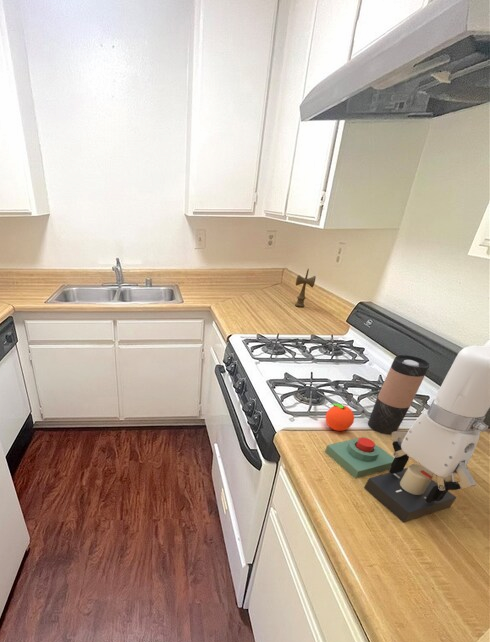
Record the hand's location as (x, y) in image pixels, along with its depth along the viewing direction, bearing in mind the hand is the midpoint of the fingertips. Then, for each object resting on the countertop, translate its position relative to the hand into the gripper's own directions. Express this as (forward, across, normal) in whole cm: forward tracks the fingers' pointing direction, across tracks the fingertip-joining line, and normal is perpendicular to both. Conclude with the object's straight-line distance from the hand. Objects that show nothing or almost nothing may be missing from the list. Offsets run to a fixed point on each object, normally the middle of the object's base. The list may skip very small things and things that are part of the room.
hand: (412, 485), depth 72 cm
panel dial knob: (+1, 0, 0) cm, 1 cm away
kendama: (+4, +131, -70) cm, 149 cm away
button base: (+4, +13, 0) cm, 14 cm away
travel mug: (+4, +22, -17) cm, 28 cm away
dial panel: (+4, 0, 0) cm, 4 cm away
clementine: (+4, +26, -4) cm, 27 cm away
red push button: (0, +13, 0) cm, 13 cm away
